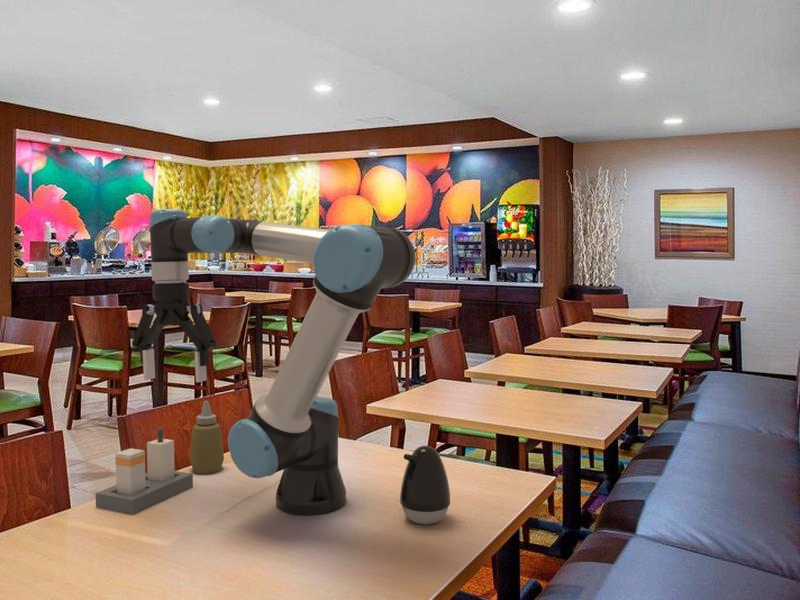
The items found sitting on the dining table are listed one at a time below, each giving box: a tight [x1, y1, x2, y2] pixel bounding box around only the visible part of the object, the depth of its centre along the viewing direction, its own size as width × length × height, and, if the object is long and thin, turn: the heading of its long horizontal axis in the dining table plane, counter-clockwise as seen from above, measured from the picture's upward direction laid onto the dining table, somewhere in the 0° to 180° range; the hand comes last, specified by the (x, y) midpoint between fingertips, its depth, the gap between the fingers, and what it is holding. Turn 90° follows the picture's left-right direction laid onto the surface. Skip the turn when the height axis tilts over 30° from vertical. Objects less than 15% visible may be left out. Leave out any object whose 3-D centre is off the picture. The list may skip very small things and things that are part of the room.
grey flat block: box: [95, 470, 194, 516], centre depth 146 cm, size 10×18×4 cm, turn 157°
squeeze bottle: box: [189, 400, 225, 475], centre depth 164 cm, size 8×8×18 cm
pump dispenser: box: [399, 445, 451, 525], centre depth 136 cm, size 10×10×15 cm
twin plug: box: [146, 427, 175, 482], centre depth 150 cm, size 4×4×14 cm
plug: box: [115, 447, 146, 496], centre depth 142 cm, size 4×4×11 cm
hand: (175, 380), depth 146 cm, fingers open, 13 cm apart
